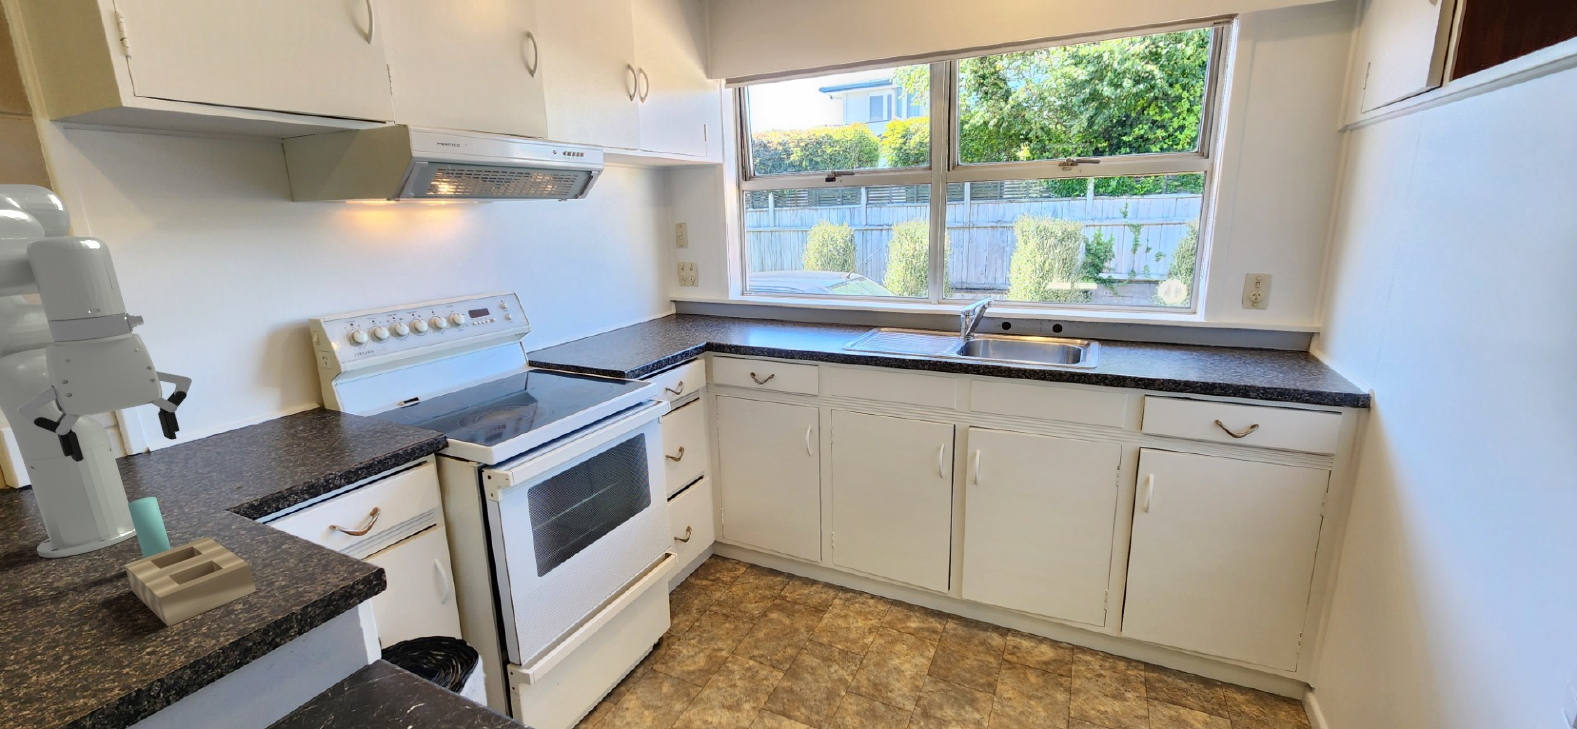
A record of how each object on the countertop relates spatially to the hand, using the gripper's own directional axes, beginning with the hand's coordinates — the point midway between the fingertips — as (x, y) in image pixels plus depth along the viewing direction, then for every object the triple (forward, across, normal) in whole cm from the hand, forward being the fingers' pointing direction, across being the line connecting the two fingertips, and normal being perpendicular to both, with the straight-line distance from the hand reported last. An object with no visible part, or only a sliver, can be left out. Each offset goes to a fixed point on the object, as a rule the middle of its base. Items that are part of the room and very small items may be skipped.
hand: (126, 448), depth 94 cm
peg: (+18, 0, 0) cm, 18 cm away
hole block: (+18, 0, +15) cm, 24 cm away
